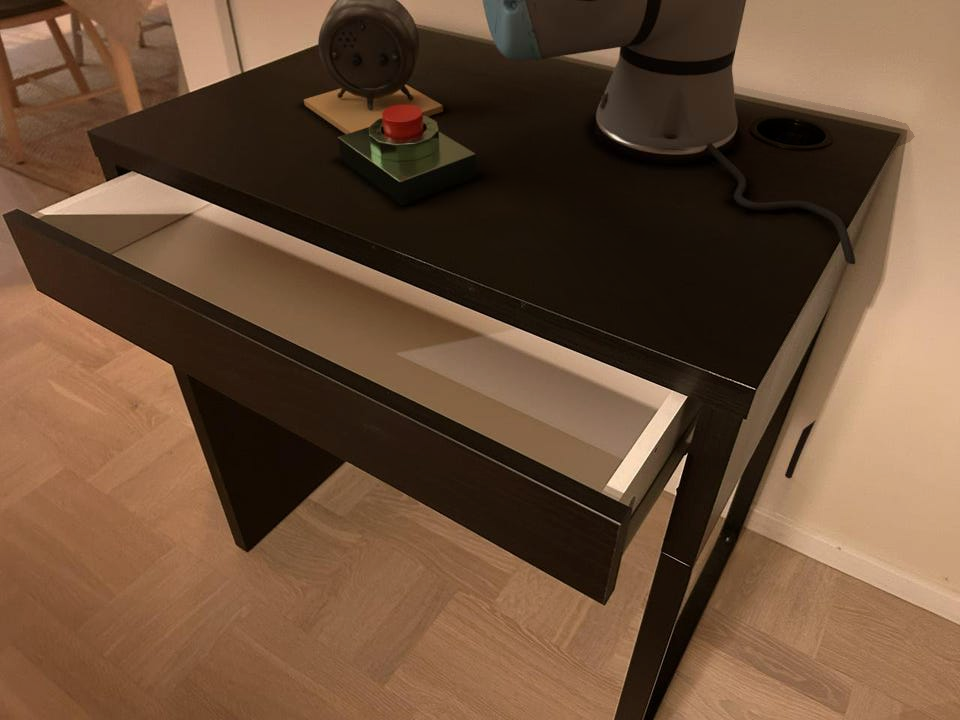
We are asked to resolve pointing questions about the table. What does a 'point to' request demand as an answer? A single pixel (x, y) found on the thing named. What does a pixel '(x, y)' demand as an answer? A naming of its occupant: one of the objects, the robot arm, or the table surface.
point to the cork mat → (365, 108)
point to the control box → (407, 161)
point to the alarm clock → (369, 47)
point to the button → (402, 121)
